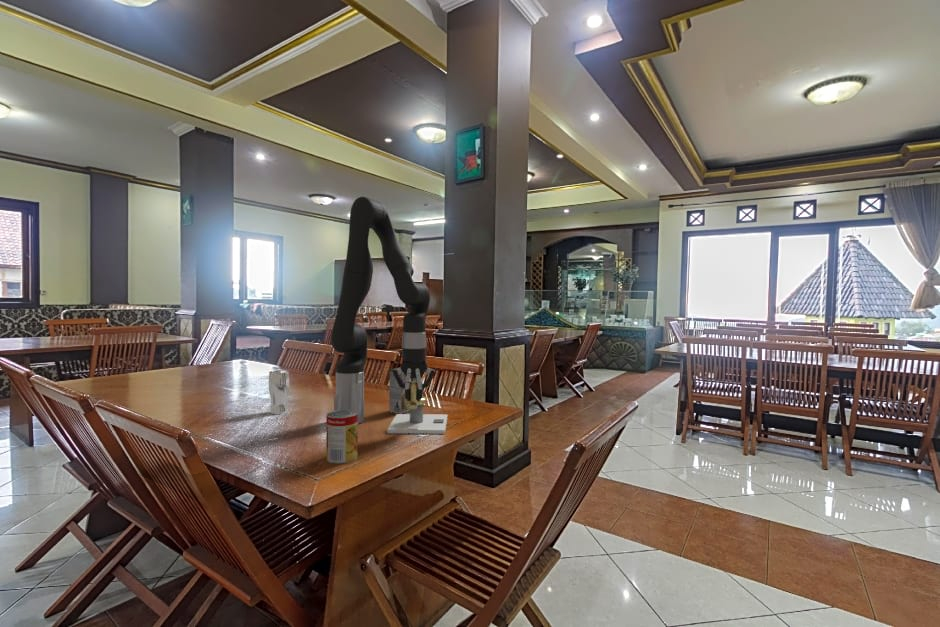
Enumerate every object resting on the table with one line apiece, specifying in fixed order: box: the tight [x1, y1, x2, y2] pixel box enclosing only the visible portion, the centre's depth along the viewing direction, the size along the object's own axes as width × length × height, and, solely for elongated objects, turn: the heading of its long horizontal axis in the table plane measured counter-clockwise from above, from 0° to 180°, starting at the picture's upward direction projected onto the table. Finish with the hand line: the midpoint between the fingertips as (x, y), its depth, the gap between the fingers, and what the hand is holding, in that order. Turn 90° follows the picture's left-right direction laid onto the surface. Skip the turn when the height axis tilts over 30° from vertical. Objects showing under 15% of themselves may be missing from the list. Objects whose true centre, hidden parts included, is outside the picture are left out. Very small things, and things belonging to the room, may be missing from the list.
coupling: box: [406, 381, 428, 409], centre depth 141 cm, size 7×12×8 cm, turn 0°
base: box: [386, 404, 448, 435], centre depth 144 cm, size 18×18×7 cm
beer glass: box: [268, 369, 290, 415], centre depth 158 cm, size 7×7×15 cm
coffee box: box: [388, 367, 417, 414], centre depth 162 cm, size 9×6×16 cm
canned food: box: [326, 409, 359, 465], centre depth 114 cm, size 8×8×12 cm
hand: (413, 400), depth 137 cm, fingers closed on coupling, 2 cm apart
